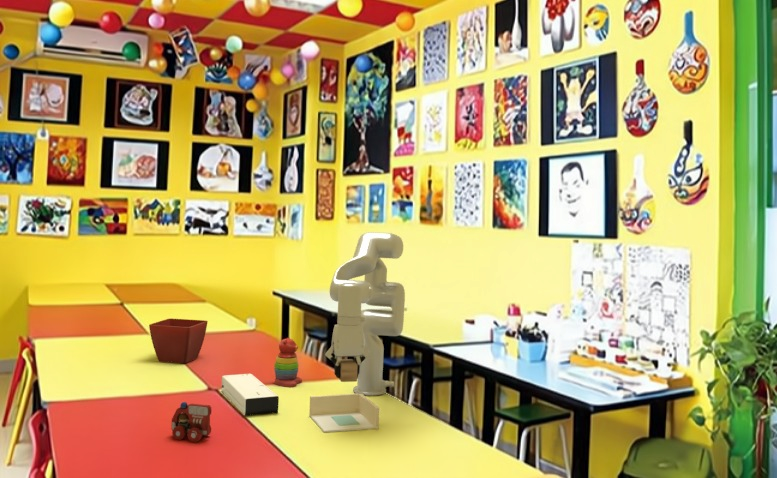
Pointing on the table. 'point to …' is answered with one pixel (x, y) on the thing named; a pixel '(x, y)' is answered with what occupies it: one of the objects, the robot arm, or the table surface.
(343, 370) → the block
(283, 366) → the stacking bear
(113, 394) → the table surface
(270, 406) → the laminator
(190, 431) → the toy fire truck
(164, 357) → the plant pot
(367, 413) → the arena
